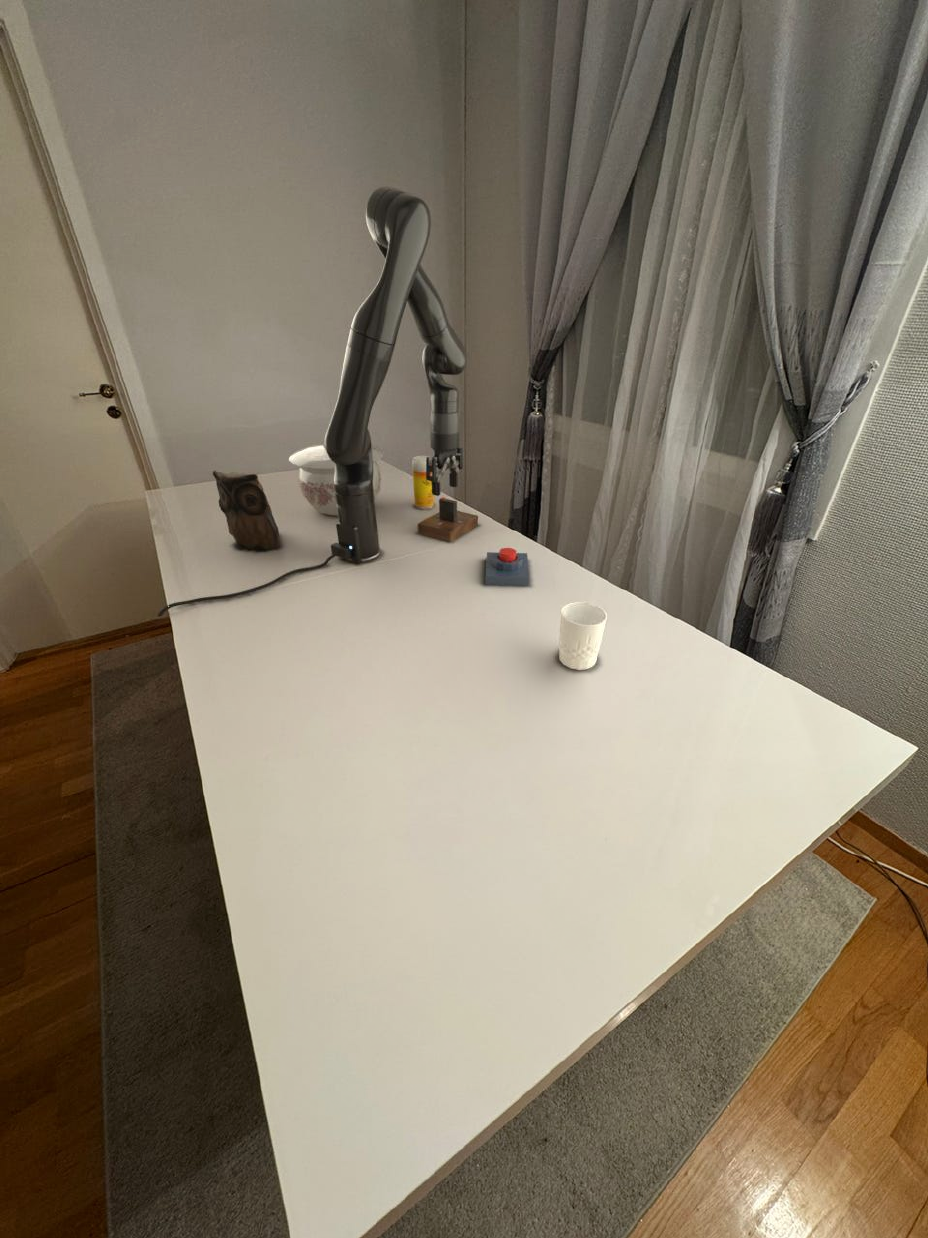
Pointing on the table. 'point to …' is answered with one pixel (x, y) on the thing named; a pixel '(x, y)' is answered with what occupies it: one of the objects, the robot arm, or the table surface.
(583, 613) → the white cup
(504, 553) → the press knob
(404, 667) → the table surface
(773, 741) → the table surface
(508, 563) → the button box
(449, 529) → the dial panel
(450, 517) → the dial knob
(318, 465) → the chamber pot
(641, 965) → the table surface
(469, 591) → the table surface
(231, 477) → the owl
